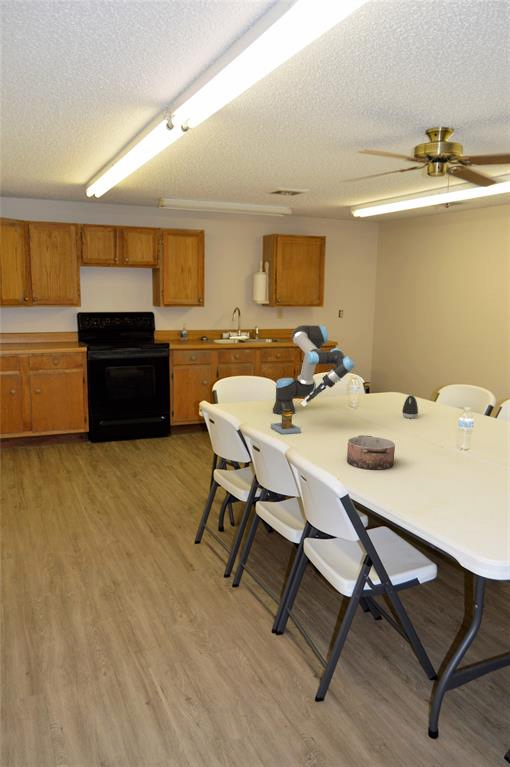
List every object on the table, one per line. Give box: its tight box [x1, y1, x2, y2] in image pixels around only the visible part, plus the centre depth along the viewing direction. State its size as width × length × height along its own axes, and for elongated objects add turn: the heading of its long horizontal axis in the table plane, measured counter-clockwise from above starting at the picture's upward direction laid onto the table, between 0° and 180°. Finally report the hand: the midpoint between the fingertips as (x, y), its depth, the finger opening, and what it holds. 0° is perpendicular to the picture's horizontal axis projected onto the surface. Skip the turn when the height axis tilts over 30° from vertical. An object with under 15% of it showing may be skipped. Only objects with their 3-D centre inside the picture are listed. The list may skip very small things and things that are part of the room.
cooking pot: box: [346, 435, 396, 471], centre depth 280 cm, size 30×22×11 cm
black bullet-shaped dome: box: [401, 395, 419, 419], centre depth 386 cm, size 10×10×15 cm
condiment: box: [281, 409, 293, 429], centre depth 340 cm, size 7×8×12 cm
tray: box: [270, 422, 302, 436], centre depth 342 cm, size 12×16×3 cm
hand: (304, 402), depth 337 cm, fingers open, 13 cm apart
